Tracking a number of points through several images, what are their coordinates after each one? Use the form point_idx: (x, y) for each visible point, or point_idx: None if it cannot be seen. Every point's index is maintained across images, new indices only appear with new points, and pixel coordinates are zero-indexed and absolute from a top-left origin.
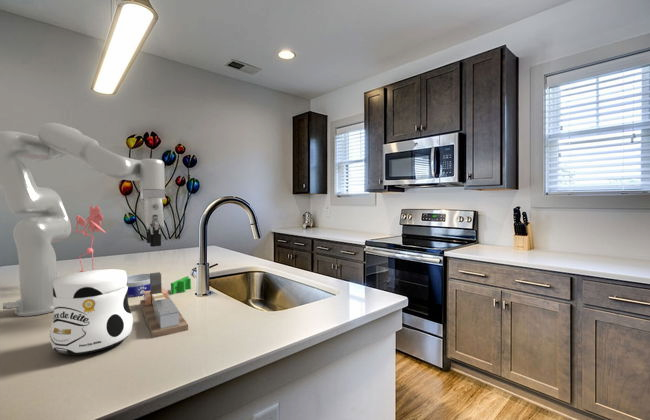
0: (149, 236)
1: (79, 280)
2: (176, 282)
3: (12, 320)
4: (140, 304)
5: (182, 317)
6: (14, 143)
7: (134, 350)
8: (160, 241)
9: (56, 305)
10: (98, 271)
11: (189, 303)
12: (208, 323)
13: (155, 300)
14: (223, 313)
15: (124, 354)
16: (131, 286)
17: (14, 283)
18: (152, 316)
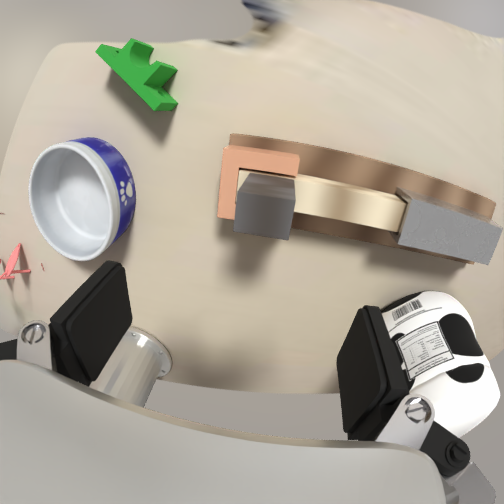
0: (107, 345)
1: (457, 432)
2: (149, 89)
3: (178, 378)
4: None
5: (460, 189)
6: None
7: (478, 290)
8: (386, 333)
9: None
10: None
11: (326, 96)
12: (493, 153)
13: (400, 238)
14: (469, 90)
15: (475, 302)
16: (118, 226)
17: (3, 325)
18: None
